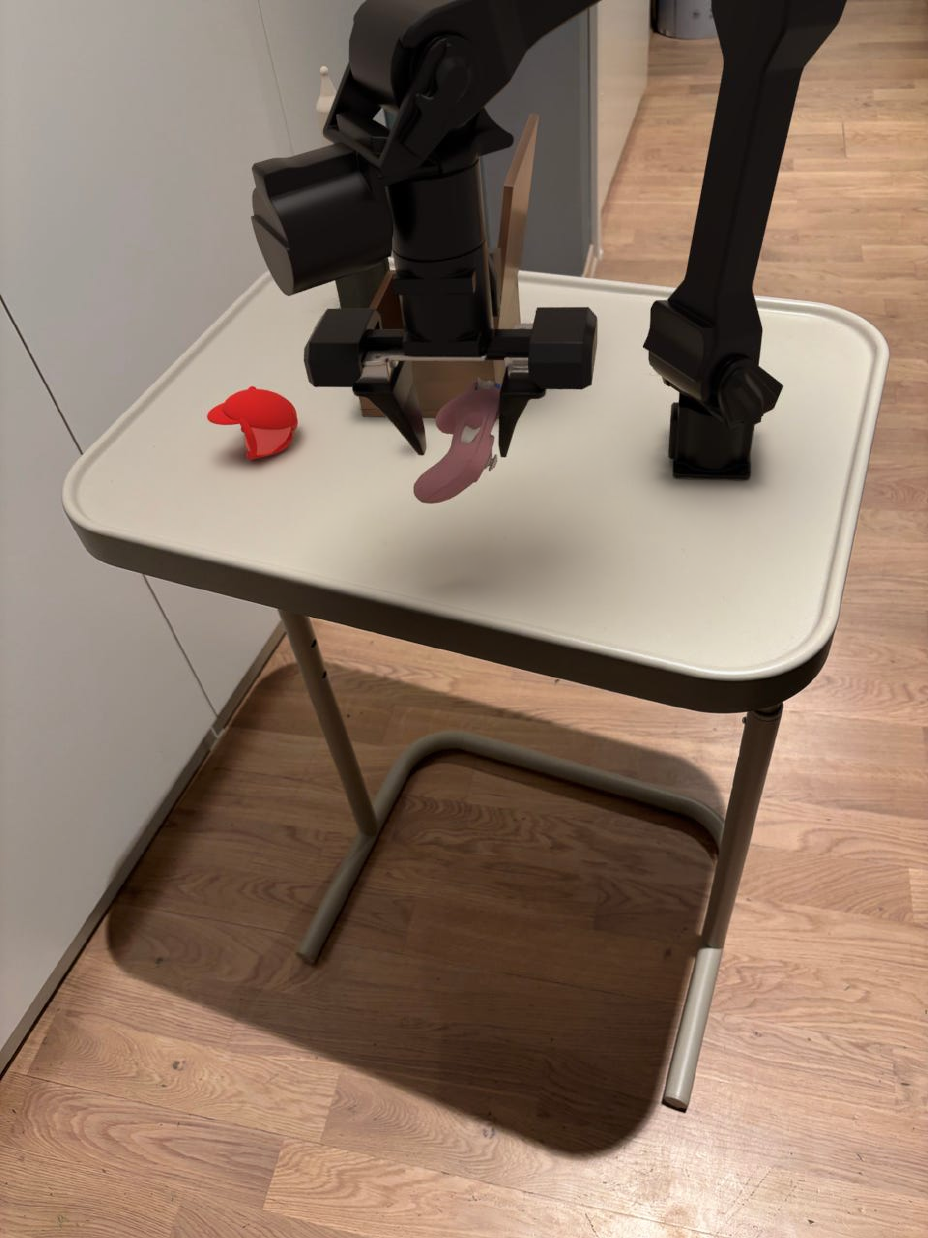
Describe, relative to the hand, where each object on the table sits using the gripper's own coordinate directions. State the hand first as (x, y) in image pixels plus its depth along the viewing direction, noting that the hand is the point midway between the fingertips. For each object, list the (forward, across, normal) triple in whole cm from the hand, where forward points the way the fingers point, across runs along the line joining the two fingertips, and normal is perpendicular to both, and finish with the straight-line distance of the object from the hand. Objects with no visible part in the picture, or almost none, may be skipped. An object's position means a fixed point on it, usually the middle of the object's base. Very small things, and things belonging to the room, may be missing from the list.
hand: (463, 452), depth 68 cm
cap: (+12, +24, -16) cm, 31 cm away
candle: (+11, +19, -42) cm, 47 cm away
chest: (+11, +8, -28) cm, 31 cm away
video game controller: (+1, 0, 0) cm, 1 cm away
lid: (-4, 0, -28) cm, 28 cm away
